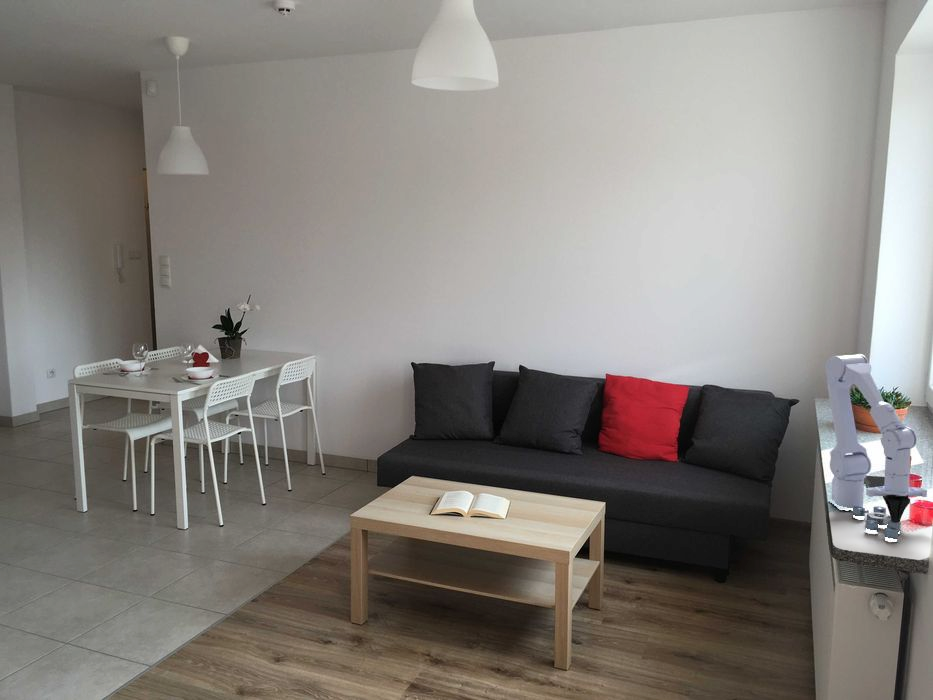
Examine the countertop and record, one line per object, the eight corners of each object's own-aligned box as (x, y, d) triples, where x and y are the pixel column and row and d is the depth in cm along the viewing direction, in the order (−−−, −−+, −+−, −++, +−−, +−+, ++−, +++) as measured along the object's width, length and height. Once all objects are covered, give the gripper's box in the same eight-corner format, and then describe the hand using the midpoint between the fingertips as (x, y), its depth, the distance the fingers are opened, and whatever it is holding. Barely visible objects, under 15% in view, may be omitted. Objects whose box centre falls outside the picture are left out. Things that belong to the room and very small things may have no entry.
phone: (887, 476, 244) (898, 490, 230) (887, 480, 245) (897, 494, 230) (860, 475, 247) (869, 488, 233) (860, 478, 247) (868, 492, 233)
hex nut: (864, 522, 207) (864, 511, 207) (883, 522, 206) (884, 511, 206) (873, 530, 201) (873, 518, 201) (893, 530, 201) (893, 519, 200)
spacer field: (846, 516, 211) (847, 506, 211) (882, 516, 210) (883, 506, 210) (876, 542, 192) (877, 531, 192) (916, 543, 191) (917, 531, 191)
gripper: (874, 477, 198) (873, 527, 200) (933, 477, 197) (931, 527, 199) (863, 469, 205) (862, 518, 207) (920, 469, 204) (918, 518, 206)
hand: (895, 522), depth 203 cm, fingers closed
